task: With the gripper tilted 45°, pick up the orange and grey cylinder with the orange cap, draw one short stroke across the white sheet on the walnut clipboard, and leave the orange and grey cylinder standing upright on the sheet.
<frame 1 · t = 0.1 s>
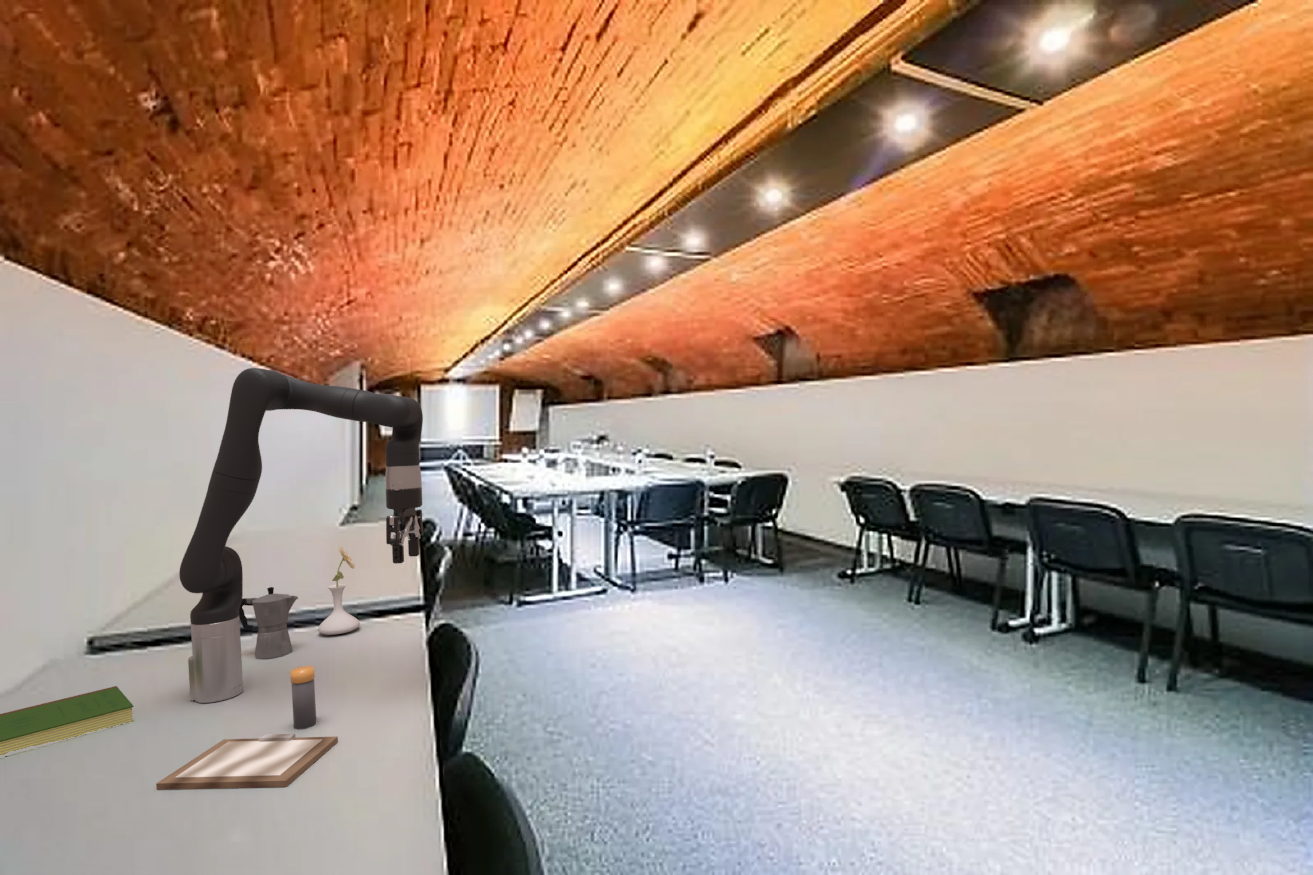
hand: (406, 559, 151), 29 cm above the table, tool pointing down, fingers open, 8 cm apart
clipboard: (252, 764, 119), on the table
coffeepot: (269, 655, 183), on the table
hardcover book: (48, 734, 138), on the table
orange and grey cylinder: (305, 724, 135), on the table
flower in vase: (340, 632, 202), on the table
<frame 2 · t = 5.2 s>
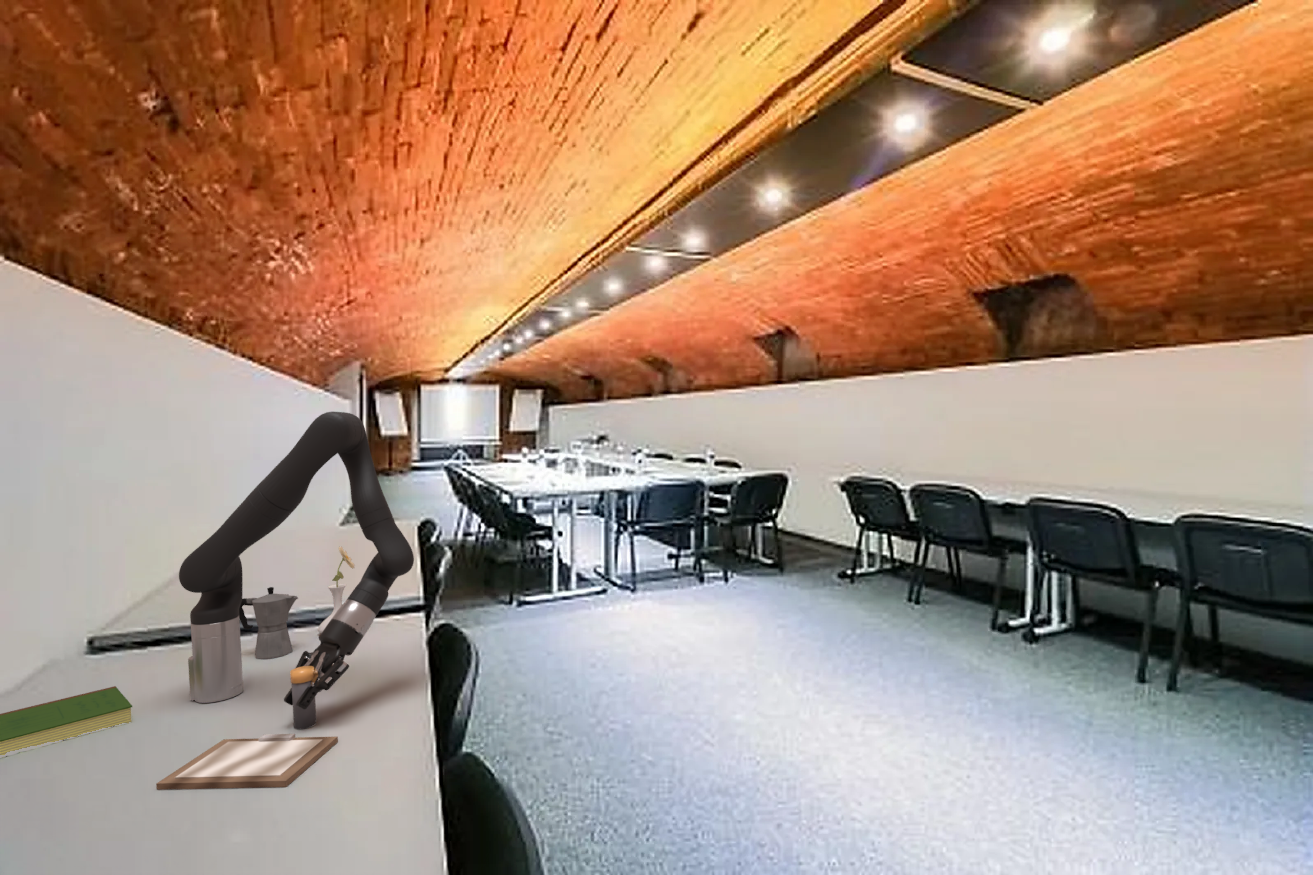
hand: (294, 705, 133), 5 cm above the table, tool tilted 45°, fingers closed on orange and grey cylinder, 4 cm apart
orange and grey cylinder: (305, 724, 135), on the table, touching gripper
everything else where it was.
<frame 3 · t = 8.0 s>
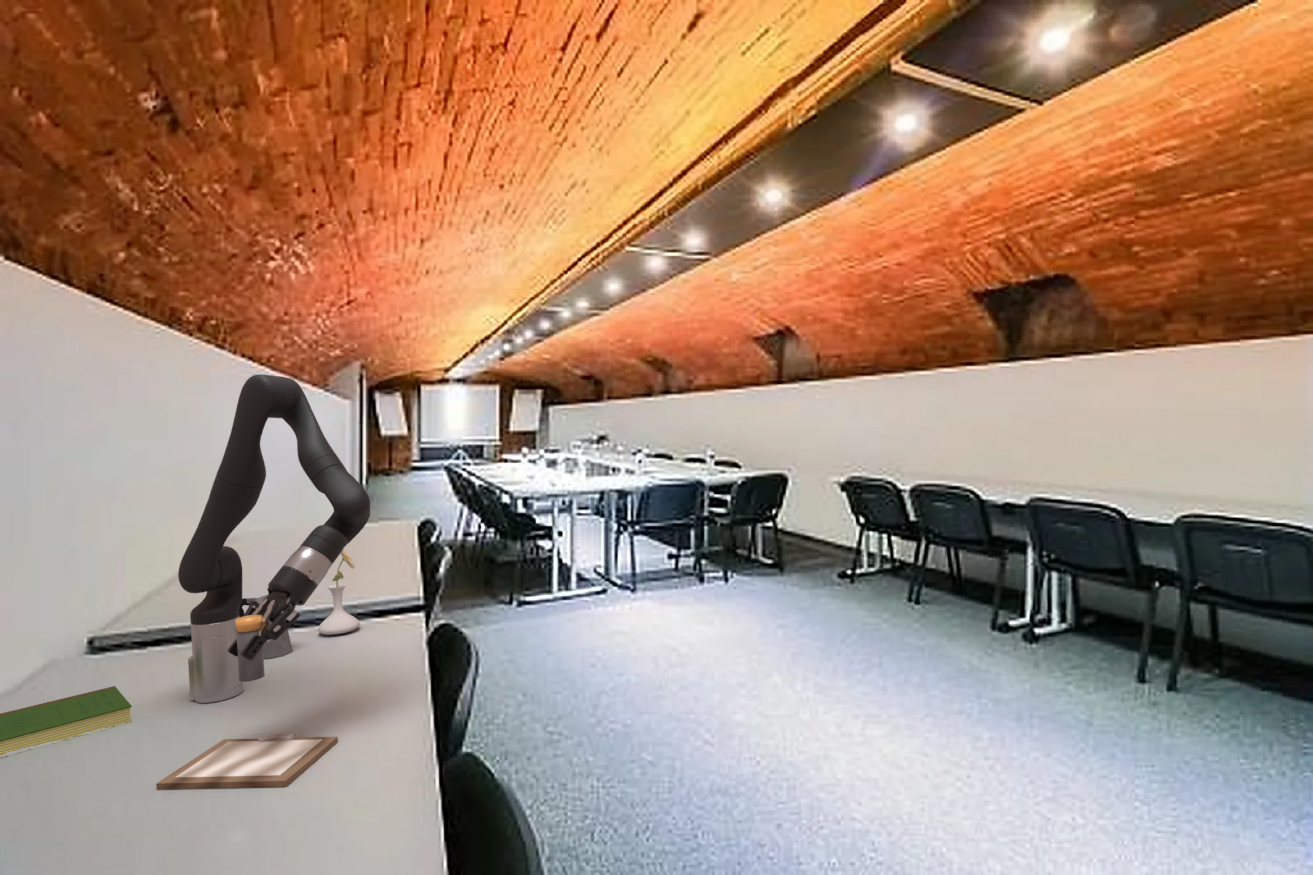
hand: (239, 655, 123), 18 cm above the table, tool tilted 45°, fingers closed on orange and grey cylinder, 4 cm apart
orange and grey cylinder: (251, 677, 125), point 13 cm above the table, touching gripper
everything else where it was.
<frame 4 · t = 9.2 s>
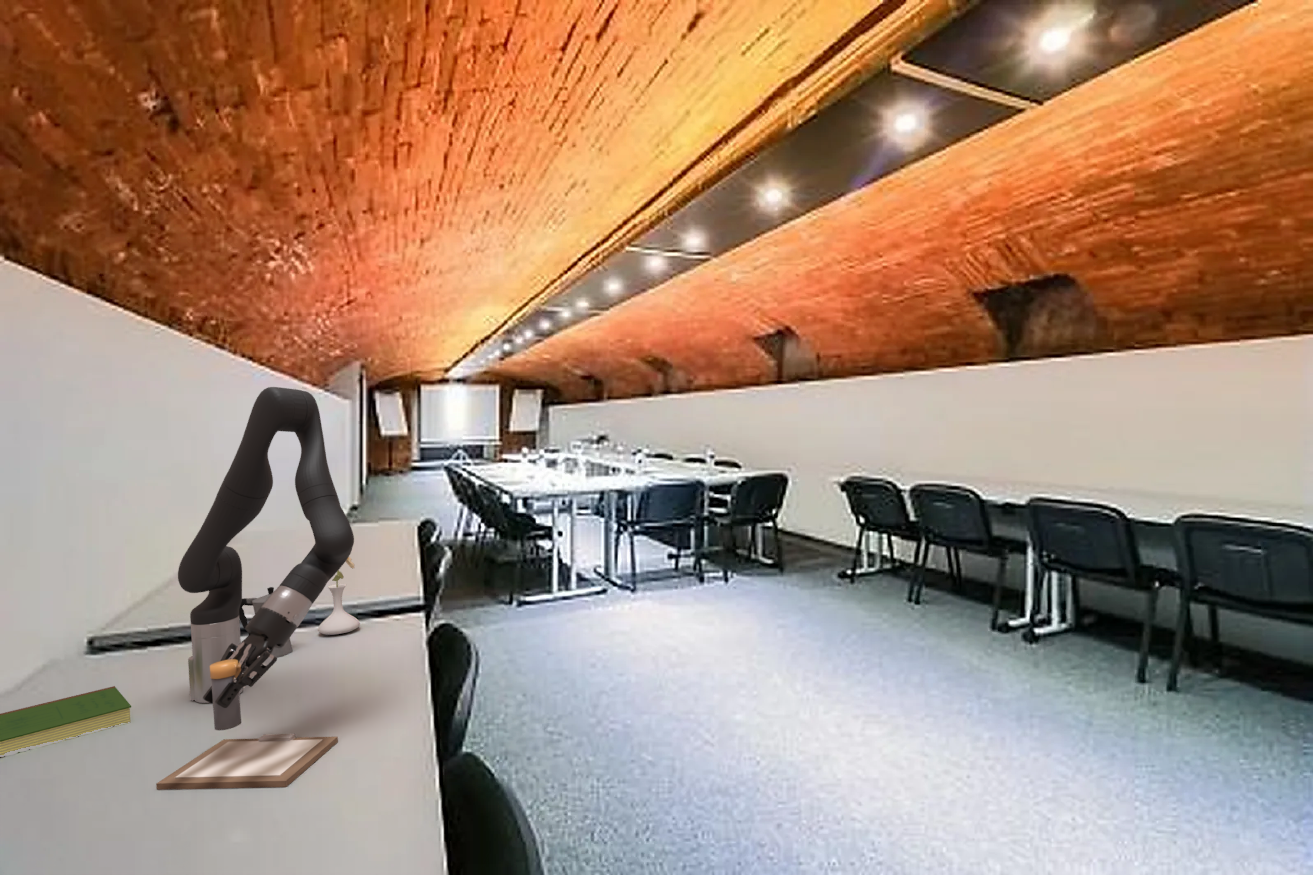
hand: (214, 703, 118), 11 cm above the table, tool tilted 45°, fingers closed on orange and grey cylinder, 4 cm apart
orange and grey cylinder: (228, 725, 120), point 7 cm above the table, touching gripper
everything else where it was.
when the fingers open (7 cm above the table, at t = 13.4 s): orange and grey cylinder stays where it is, resting on clipboard.
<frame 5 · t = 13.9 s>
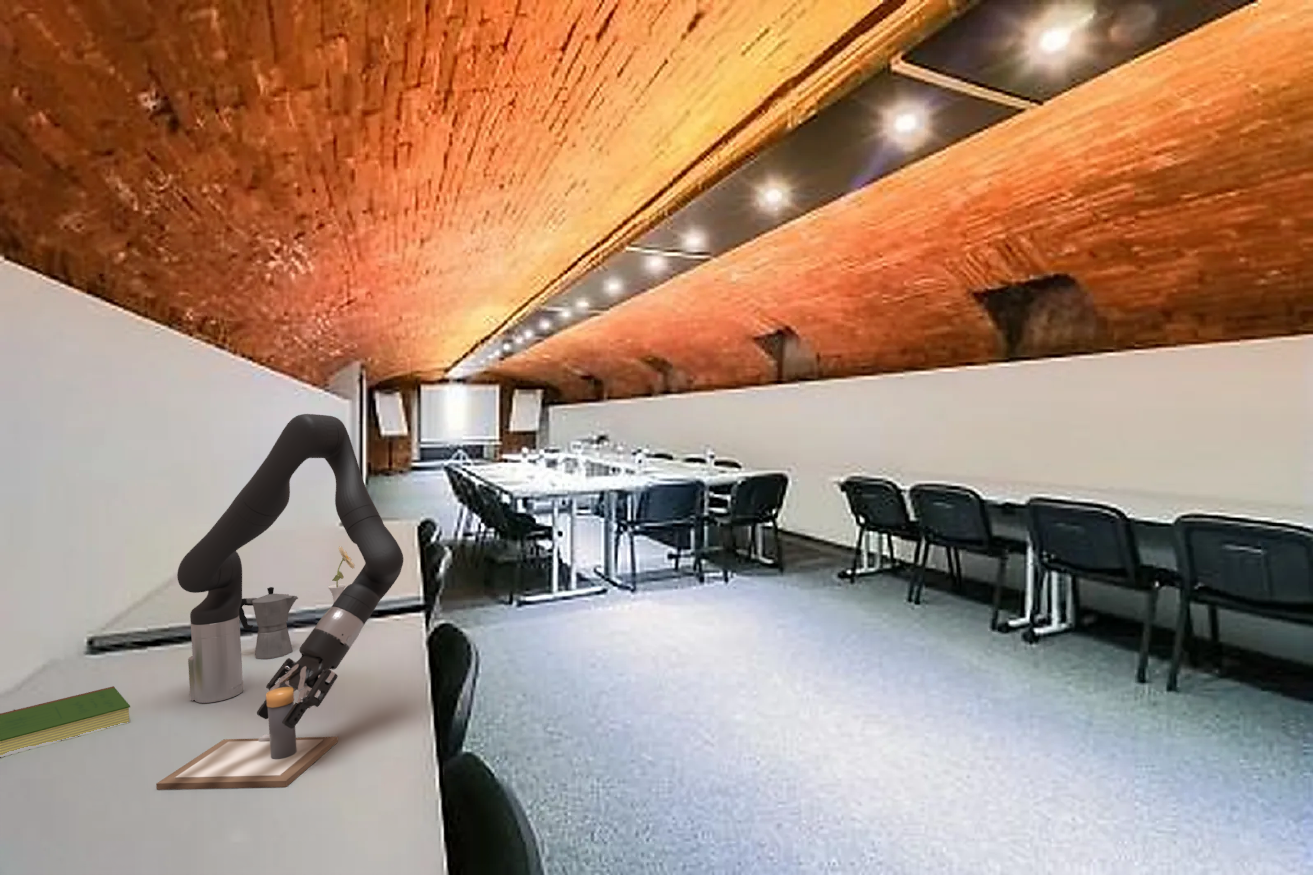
hand: (273, 721, 118), 7 cm above the table, tool tilted 45°, fingers open, 8 cm apart
orange and grey cylinder: (283, 753, 120), point 1 cm above the table, touching clipboard
everything else where it was.
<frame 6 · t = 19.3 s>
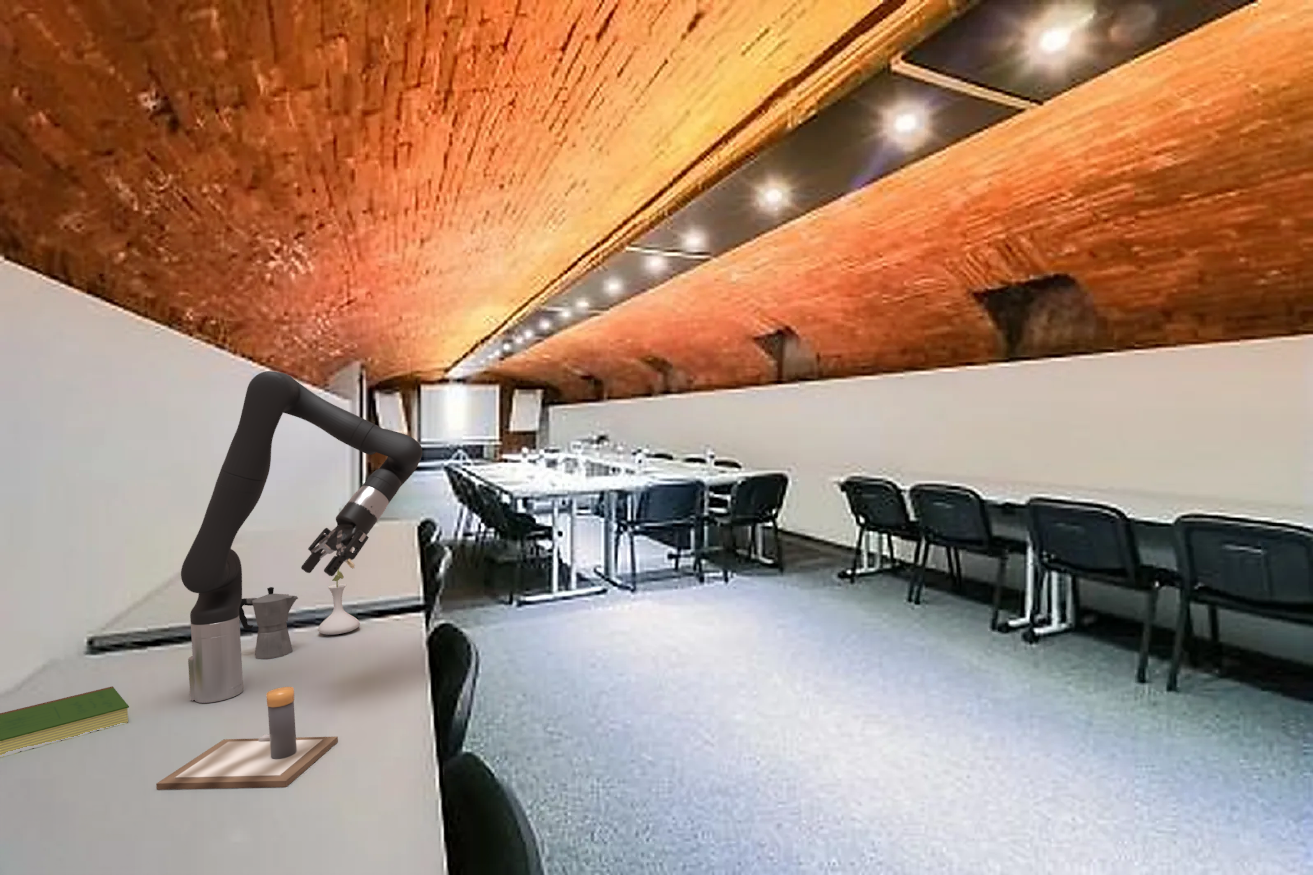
hand: (316, 572, 143), 29 cm above the table, tool tilted 45°, fingers open, 8 cm apart
nothing on the table moved.
at the end: orange and grey cylinder inside the target area on the clipboard (5.1 cm from its centre), point 1.2 cm above the clipboard's base; orange and grey cylinder tilted 1°; the gripper is holding nothing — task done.
